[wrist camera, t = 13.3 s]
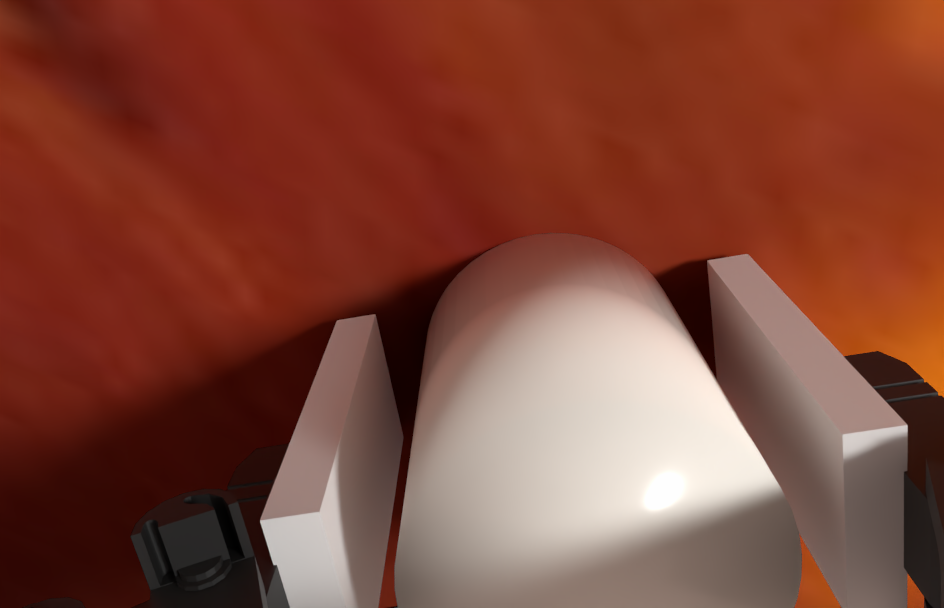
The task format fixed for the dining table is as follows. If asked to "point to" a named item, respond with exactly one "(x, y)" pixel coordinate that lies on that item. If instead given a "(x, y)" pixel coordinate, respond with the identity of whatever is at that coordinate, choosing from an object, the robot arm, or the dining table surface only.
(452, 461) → the white cylinder
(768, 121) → the dining table surface
